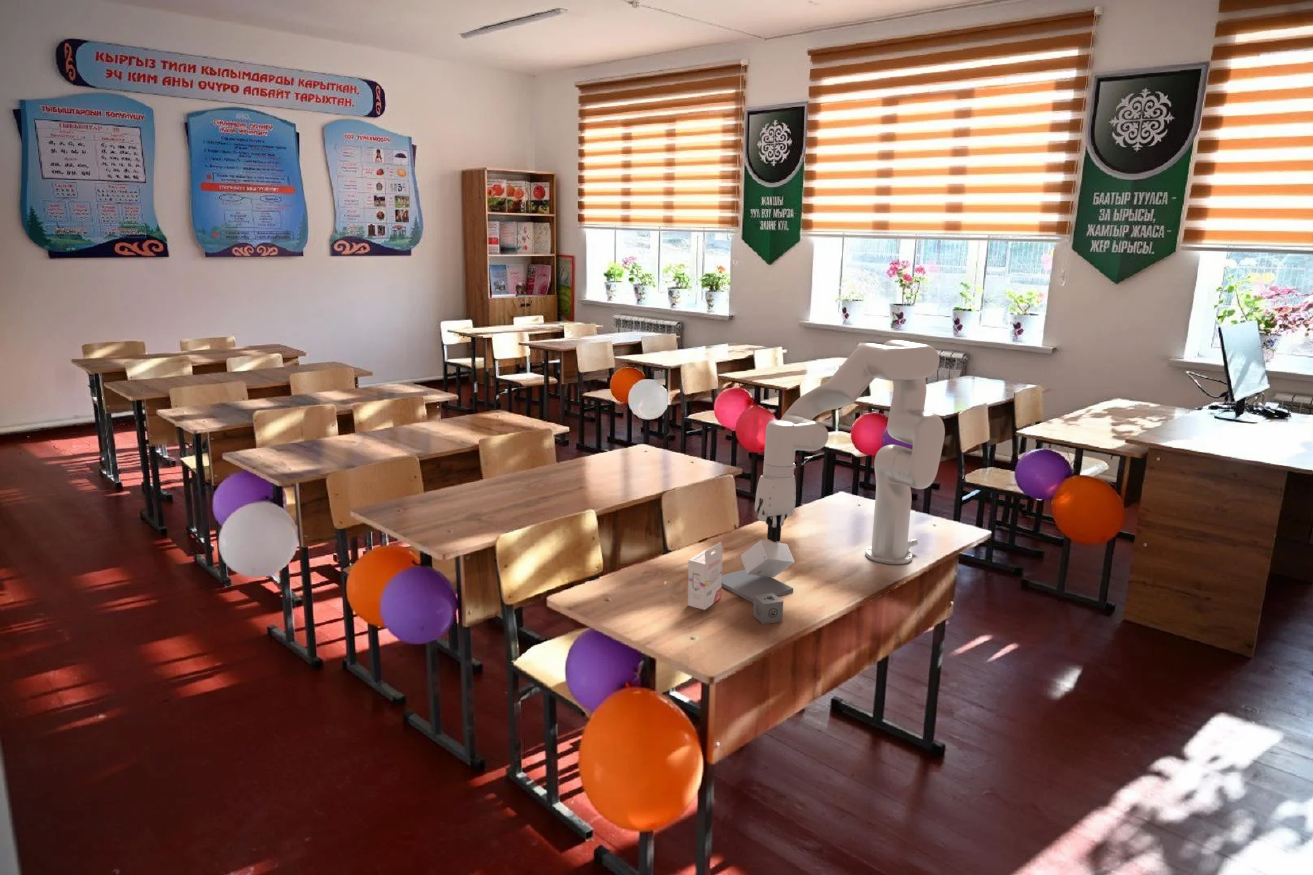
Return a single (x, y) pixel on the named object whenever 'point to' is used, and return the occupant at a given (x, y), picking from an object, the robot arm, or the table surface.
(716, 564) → the ink cartridge box
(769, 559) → the small box
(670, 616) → the table surface
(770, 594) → the dice cube
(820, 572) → the table surface
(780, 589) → the mat
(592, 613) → the table surface
